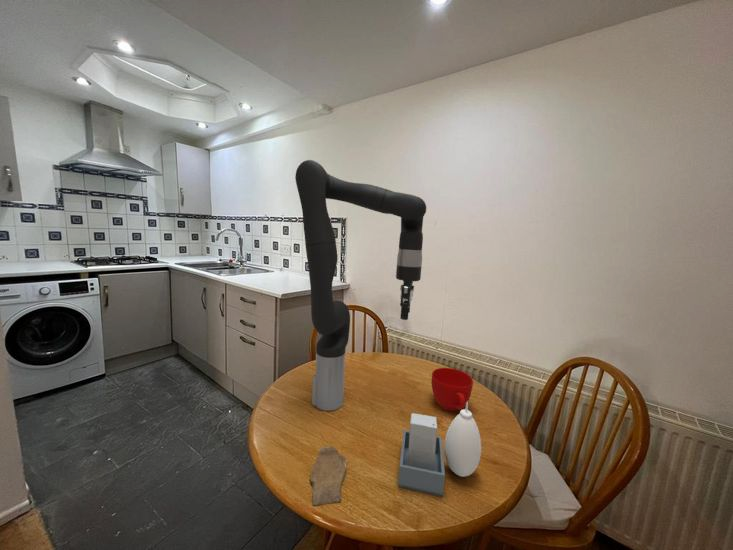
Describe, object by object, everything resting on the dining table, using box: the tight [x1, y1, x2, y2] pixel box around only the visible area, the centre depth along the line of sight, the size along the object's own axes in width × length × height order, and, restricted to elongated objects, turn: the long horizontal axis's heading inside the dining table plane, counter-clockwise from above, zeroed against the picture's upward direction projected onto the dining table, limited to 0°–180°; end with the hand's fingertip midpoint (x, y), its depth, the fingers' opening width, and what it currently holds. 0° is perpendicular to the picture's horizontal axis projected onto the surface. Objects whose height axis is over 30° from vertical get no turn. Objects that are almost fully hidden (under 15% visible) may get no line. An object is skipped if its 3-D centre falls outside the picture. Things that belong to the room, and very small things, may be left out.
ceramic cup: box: [431, 367, 474, 412], centre depth 90 cm, size 13×17×10 cm
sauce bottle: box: [443, 400, 482, 478], centre depth 65 cm, size 8×8×18 cm
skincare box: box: [408, 412, 438, 471], centre depth 66 cm, size 6×4×12 cm
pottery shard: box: [309, 445, 348, 507], centre depth 64 cm, size 8×3×15 cm
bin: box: [397, 429, 446, 498], centre depth 66 cm, size 10×12×5 cm
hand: (405, 315), depth 88 cm, fingers open, 8 cm apart
